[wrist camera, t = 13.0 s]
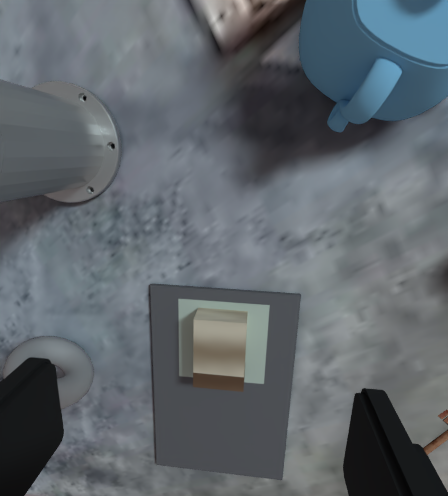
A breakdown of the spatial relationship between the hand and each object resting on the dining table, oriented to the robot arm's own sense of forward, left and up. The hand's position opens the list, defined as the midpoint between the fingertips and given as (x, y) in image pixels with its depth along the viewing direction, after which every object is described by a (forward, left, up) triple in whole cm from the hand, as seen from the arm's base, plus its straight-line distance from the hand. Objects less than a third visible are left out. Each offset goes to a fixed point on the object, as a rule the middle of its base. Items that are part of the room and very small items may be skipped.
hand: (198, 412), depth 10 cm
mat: (-2, -22, -28) cm, 36 cm away
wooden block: (-2, -15, -28) cm, 32 cm away
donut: (-22, -18, -28) cm, 40 cm away
